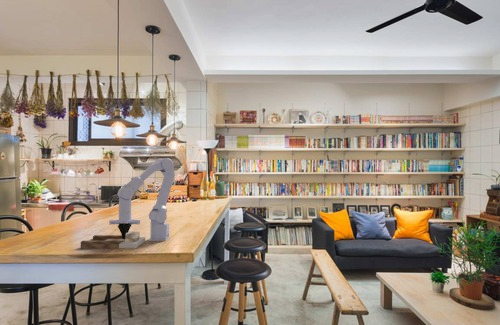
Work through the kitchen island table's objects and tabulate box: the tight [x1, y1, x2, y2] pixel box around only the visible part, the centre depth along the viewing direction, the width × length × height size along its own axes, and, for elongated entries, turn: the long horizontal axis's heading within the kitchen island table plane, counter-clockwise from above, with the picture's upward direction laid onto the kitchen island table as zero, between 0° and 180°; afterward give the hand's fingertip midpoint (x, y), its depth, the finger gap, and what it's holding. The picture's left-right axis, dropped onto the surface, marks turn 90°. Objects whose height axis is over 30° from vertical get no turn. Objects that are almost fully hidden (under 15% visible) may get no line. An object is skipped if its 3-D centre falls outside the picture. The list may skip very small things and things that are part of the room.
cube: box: [125, 231, 140, 242], centre depth 141 cm, size 5×5×4 cm
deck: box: [80, 234, 146, 249], centre depth 141 cm, size 26×13×3 cm, turn 91°
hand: (124, 238), depth 141 cm, fingers closed
